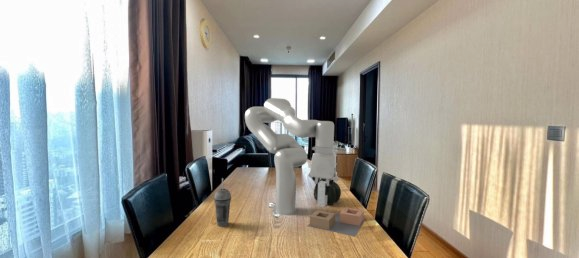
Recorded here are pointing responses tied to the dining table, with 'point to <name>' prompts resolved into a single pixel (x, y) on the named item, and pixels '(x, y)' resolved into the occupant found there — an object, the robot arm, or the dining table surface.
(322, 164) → the robot arm
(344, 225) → the dock plate
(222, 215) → the beverage cup
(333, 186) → the squash
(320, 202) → the peg
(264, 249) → the dining table surface
